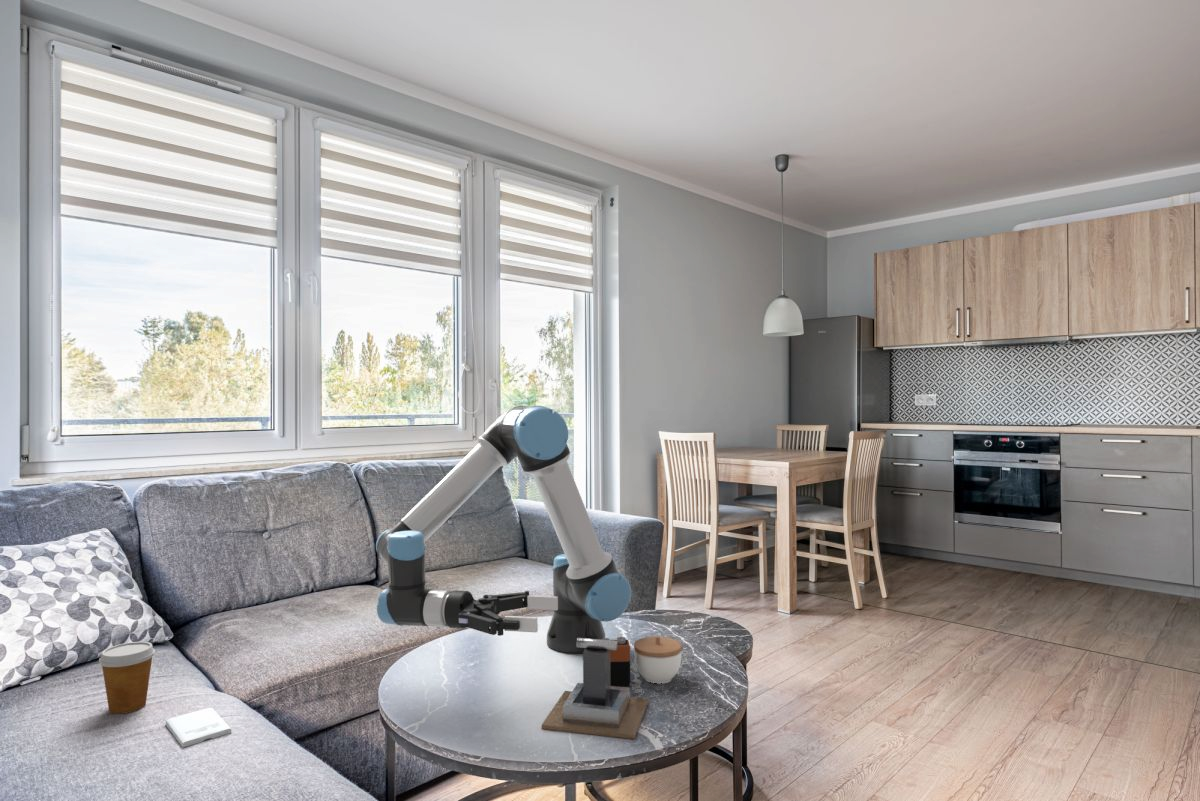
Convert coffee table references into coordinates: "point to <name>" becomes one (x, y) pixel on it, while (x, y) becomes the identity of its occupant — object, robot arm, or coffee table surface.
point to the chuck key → (596, 670)
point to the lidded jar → (658, 658)
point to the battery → (620, 663)
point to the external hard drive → (197, 726)
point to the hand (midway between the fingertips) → (547, 613)
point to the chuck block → (598, 714)
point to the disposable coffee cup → (127, 675)
